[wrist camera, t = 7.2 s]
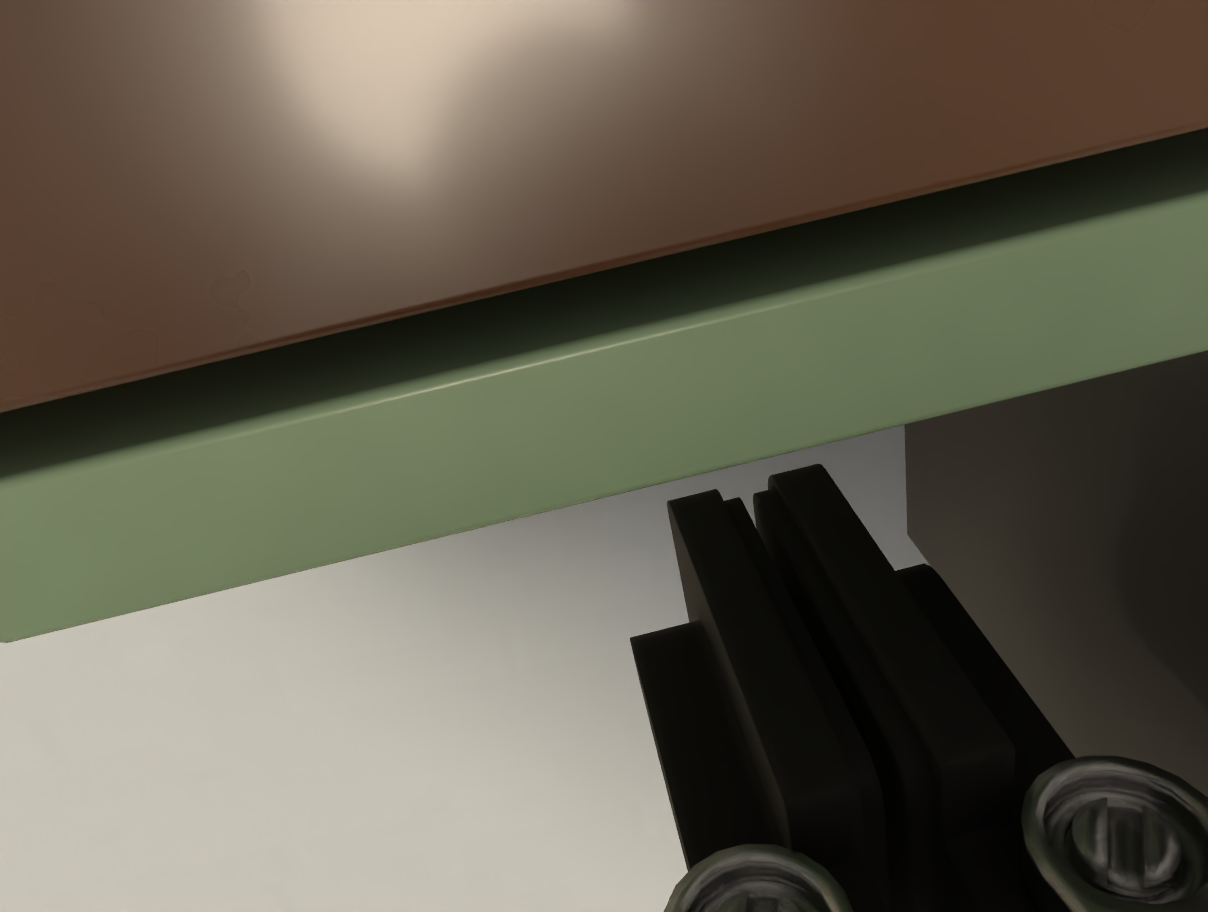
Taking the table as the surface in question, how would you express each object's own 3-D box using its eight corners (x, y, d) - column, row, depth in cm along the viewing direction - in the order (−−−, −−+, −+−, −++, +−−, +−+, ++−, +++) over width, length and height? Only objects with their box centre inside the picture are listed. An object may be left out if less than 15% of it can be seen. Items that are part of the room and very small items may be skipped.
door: (967, -53, 11) (1907, 28, 4) (962, 427, 15) (1466, 931, 8) (251, 110, 11) (-109, 507, 4) (417, 560, 15) (393, 1215, 7)
